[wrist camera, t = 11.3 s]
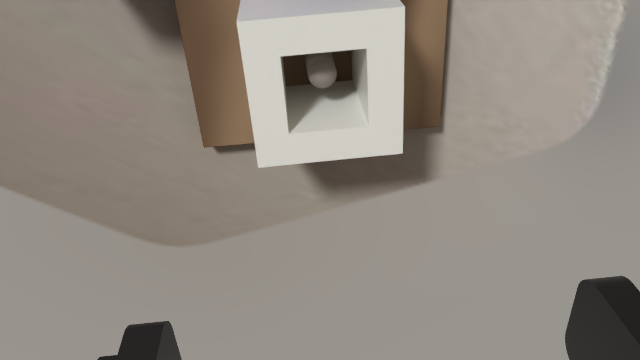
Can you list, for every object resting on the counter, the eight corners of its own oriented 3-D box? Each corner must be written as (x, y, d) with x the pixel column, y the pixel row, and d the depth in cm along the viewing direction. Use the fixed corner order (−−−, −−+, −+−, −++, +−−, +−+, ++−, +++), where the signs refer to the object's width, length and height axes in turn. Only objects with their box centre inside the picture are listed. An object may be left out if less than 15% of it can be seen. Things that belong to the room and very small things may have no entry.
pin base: (205, 138, 28) (195, 186, 24) (169, -48, 23) (149, -26, 19) (434, 117, 28) (460, 161, 24) (445, -69, 24) (480, -52, 20)
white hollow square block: (242, -11, 23) (236, 21, 19) (380, -23, 23) (404, 6, 19) (260, 115, 26) (258, 167, 22) (381, 104, 27) (402, 153, 22)
